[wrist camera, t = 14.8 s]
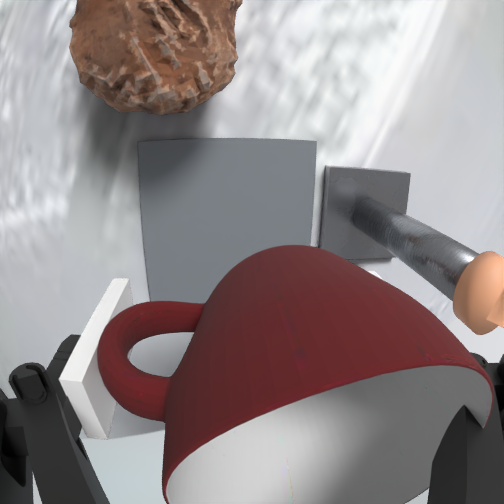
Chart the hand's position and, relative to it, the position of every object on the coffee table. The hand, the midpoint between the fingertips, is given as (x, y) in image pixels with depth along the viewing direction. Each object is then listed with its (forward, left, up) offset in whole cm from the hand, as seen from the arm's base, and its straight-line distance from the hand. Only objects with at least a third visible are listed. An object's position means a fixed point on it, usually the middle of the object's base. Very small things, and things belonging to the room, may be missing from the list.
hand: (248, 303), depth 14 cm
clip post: (+12, +1, -13) cm, 17 cm away
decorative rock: (-5, +15, -13) cm, 21 cm away
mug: (0, 0, -1) cm, 1 cm away
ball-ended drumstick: (+18, -2, 0) cm, 19 cm away
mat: (0, 0, -13) cm, 13 cm away
